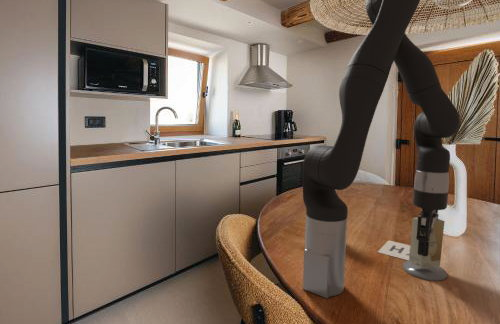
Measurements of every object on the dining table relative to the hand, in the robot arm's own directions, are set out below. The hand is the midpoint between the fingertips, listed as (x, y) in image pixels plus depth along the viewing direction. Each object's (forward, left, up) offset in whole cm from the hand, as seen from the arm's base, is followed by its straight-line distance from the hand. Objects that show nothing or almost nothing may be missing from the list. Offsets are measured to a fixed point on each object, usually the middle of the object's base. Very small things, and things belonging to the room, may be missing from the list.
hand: (425, 250), depth 77 cm
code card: (+10, +7, -6) cm, 13 cm away
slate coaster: (0, 0, -6) cm, 6 cm away
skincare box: (0, 0, -4) cm, 4 cm away
